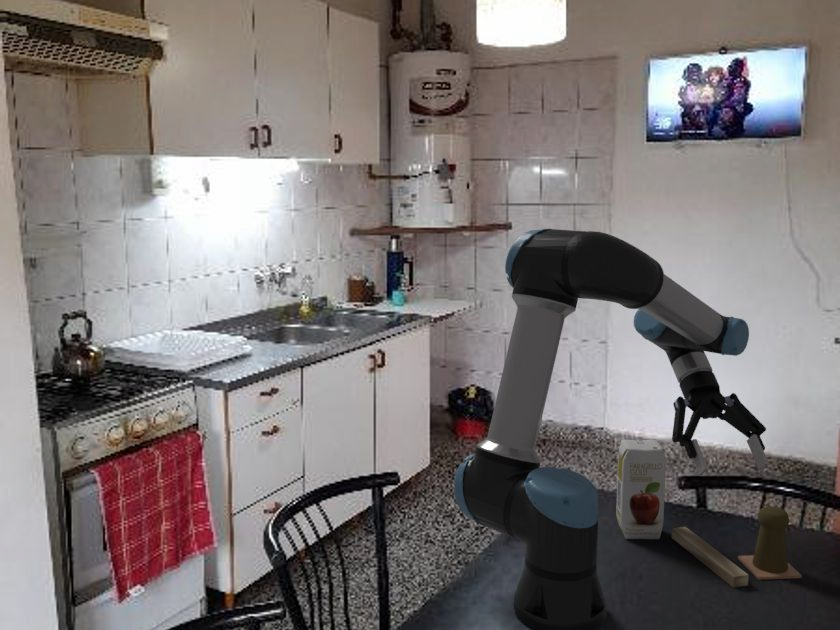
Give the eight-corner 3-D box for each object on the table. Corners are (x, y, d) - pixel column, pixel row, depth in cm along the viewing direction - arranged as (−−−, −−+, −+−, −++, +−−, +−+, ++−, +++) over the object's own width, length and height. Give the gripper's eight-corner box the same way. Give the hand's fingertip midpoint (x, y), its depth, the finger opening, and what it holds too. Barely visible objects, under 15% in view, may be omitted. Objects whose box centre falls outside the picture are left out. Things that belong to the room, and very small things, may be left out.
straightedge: (732, 587, 135) (733, 576, 134) (671, 537, 154) (671, 528, 153) (747, 585, 135) (748, 574, 135) (684, 535, 154) (685, 526, 154)
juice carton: (613, 524, 160) (616, 437, 157) (655, 525, 160) (659, 437, 156) (621, 541, 153) (625, 450, 149) (665, 541, 152) (669, 450, 149)
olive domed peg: (792, 574, 138) (796, 517, 136) (756, 571, 139) (760, 514, 137) (783, 558, 144) (787, 503, 142) (749, 556, 145) (752, 501, 143)
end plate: (758, 579, 137) (758, 577, 137) (737, 558, 145) (737, 555, 145) (801, 578, 137) (801, 575, 137) (778, 556, 145) (778, 554, 145)
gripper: (739, 384, 170) (779, 472, 157) (636, 390, 164) (669, 482, 152) (756, 366, 164) (799, 456, 151) (649, 371, 158) (685, 466, 146)
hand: (734, 469), depth 152 cm, fingers open, 13 cm apart
